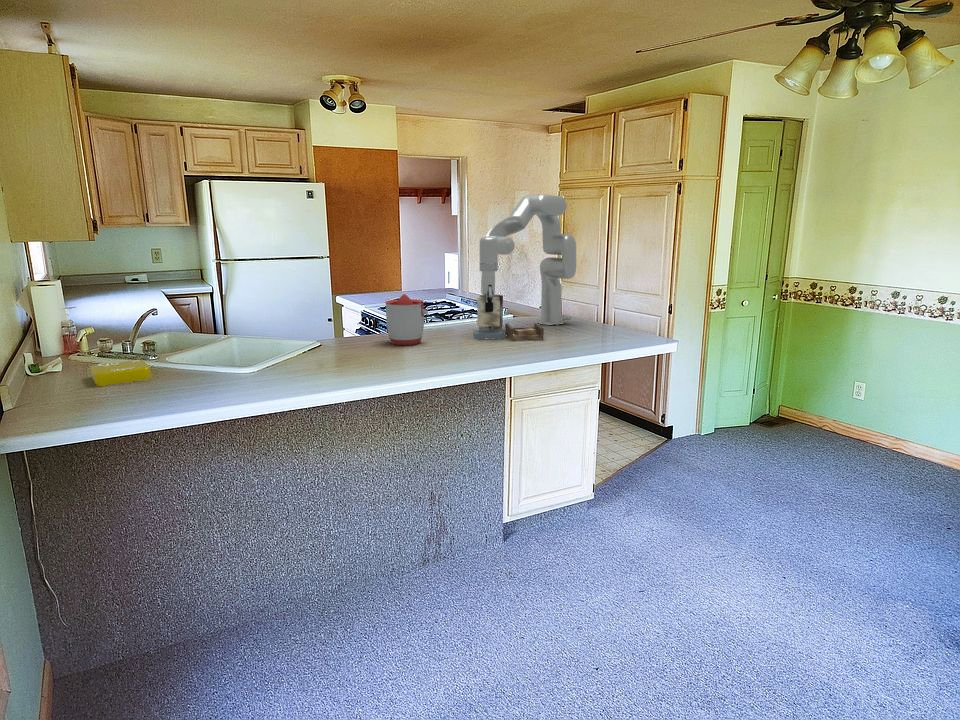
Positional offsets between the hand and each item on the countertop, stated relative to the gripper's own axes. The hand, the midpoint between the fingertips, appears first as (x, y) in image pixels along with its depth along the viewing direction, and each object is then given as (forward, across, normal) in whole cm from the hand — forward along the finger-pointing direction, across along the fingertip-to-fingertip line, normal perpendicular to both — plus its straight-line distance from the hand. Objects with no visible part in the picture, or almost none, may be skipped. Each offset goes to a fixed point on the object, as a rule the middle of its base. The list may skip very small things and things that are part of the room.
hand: (488, 310), depth 252 cm
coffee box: (+12, -16, +3) cm, 20 cm away
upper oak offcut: (+10, +5, +15) cm, 19 cm away
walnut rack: (+12, +2, +15) cm, 19 cm away
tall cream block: (+6, 0, 0) cm, 6 cm away
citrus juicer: (+12, +8, -34) cm, 37 cm away
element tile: (+12, +54, -124) cm, 136 cm away
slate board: (+12, 0, 0) cm, 12 cm away
